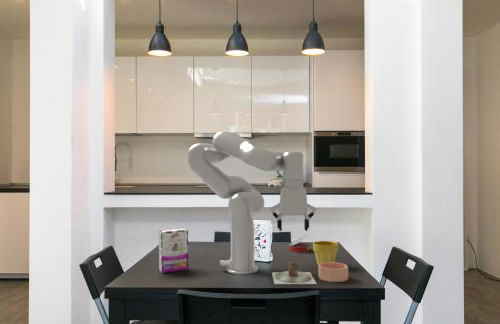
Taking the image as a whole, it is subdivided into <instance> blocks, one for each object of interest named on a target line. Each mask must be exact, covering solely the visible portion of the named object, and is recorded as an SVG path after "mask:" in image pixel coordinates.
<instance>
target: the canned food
mask: <svg viewBox="0 0 500 324" xmlns="http://www.w3.org/2000/svg"><path fill="white" fill-rule="evenodd" d="M305 237H307V234H306V235H304V236H302V237H300V238H298V239H295V240H294V241H292V242H291V243H289V246H288V251H289V252H291V253H299V254H303V253H308V252H309V251H310V244H309V243H303V242H302V241H303V240H304V238H305Z"/></svg>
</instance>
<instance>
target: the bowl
mask: <svg viewBox="0 0 500 324" xmlns="http://www.w3.org/2000/svg"><path fill="white" fill-rule="evenodd" d="M317 266H318V267H317V268H318V270H317V271H318V272H317V274H318V276H317V277H318V278H319V280H322V281H325V282H330V283H335V282H336V283H342V282H345V281H348V280H349V266H348V265H347V264H346V263H341V262H324V263H321V264H318V265H317Z"/></svg>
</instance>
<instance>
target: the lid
mask: <svg viewBox="0 0 500 324" xmlns="http://www.w3.org/2000/svg"><path fill="white" fill-rule="evenodd" d="M298 270H299V269H298V261H295V260H294V261H293V260H292V261H291V260H289V261H288V270H286V271H280V272H279V271H278V272H279V273H277V274H276V279H277V280H279V281H282V282H288V283H301V282H307V281H309V280H310V279H311V276H310V275H309V274H307V273H304V271H298Z"/></svg>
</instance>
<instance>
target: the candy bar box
mask: <svg viewBox="0 0 500 324" xmlns="http://www.w3.org/2000/svg"><path fill="white" fill-rule="evenodd" d="M158 269H159V272H160V273H161V274H166V273H168V274H169V273H172V272H173V273H175V272H181V271H182V272H183V271H188V270H189V230H188V229H186V228H175V229H165V230H164V229H163V230H162V229H161V230H158Z"/></svg>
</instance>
